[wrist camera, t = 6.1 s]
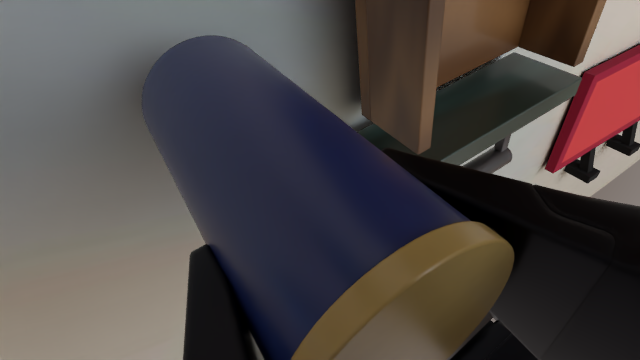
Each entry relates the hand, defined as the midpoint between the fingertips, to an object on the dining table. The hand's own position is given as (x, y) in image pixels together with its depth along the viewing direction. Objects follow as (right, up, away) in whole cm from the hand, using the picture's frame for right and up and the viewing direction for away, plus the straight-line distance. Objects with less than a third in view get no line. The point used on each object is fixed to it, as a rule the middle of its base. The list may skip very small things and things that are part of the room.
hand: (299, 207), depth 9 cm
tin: (-3, +3, +4) cm, 6 cm away
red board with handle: (+37, +11, +35) cm, 52 cm away
